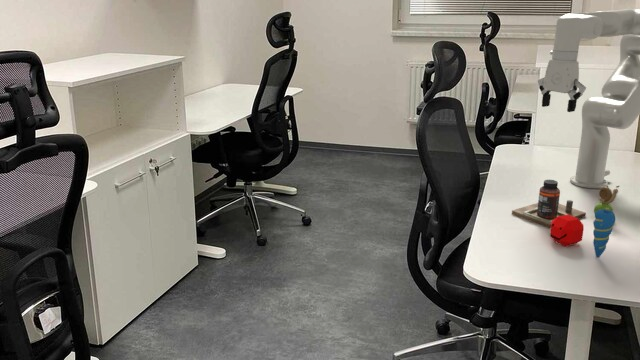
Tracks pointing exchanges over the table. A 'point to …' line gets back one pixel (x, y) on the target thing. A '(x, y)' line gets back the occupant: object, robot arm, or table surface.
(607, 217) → the ornament
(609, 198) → the snail figurine
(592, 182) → the robot arm
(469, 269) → the table surface
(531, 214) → the pin board
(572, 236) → the ball
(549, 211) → the supplement bottle
